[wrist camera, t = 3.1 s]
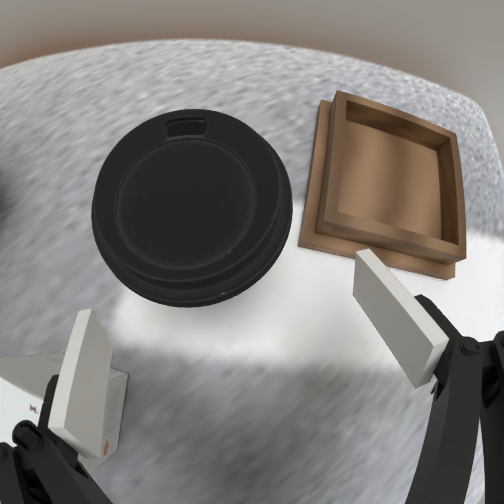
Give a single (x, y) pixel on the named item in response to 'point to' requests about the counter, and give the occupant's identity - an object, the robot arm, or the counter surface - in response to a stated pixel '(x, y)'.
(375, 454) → the counter surface
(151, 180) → the coffee cup
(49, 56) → the counter surface
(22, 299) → the counter surface
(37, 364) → the small box
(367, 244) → the wooden tray
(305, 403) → the counter surface
